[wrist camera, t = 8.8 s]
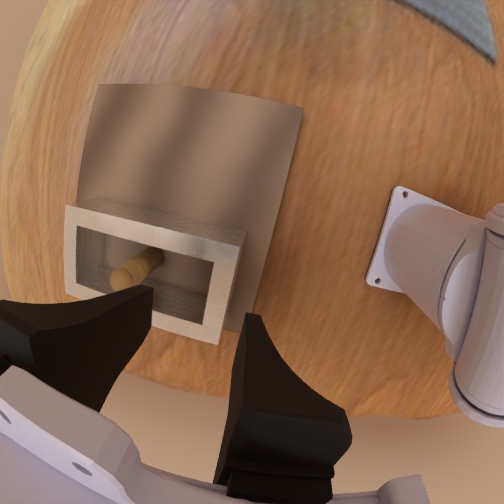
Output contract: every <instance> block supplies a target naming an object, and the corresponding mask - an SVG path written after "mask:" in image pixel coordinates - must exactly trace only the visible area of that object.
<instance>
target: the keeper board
mask: <svg viewBox="0 0 504 504" xmlns="http://www.w3.org/2000/svg"><path fill="white" fill-rule="evenodd" d="M303 110H304V108H301V107H297V106H294V105H290V104H285V103H281V102H277V101H272V100H268V99H263V98H258V97H253V96H248V95H242V94H236V93H230V92H224V91H217V90H209V89H201V88H192V87H182V86H169V85H151V84H99V86H98V89H97V93H96V96H95V100H94V103H93V107H92V111H91V115H90V120H89V124H88V128H87V133H86V138H85V143H84V149H83V154H82V160H81V167H80V174H79V181H78V189H77V199H76V202H79V201H83V200H88V199H93V198H102V199H107V200H111V201H116V202H120V203H125V204H129V205H134V206H138V207H143V208H147V209H152V210H156V211H161V212H165V213H169V214H174V215H178V216H182V217H187V218H191V219H195V220H199V221H204V222H208V223H212V224H216V225H220V226H225V227H229V228H233V229H237V230H241V231H245V232H247V233H246V237H245V241H244V245H243V250H242V254H241V258H240V263H239V267H238V271H237V275H236V280H235V284H234V288H233V293H232V297H231V301H230V306H229V310H228V315H227V318H226V321H225V324H224V327H223V329H225V330H229V331H233V332H237V333H241V329H242V325H243V321H244V317H245V313H246V312H248V313H252V310H253V306H254V302H255V299H256V295H257V291H258V288H259V284H260V280H261V276H262V273H263V269H264V265H265V261H266V257H267V254H268V250H269V246H270V242H271V238H272V234H273V231H274V227H275V223H276V219H277V215H278V211H279V207H280V203H281V199H282V195H283V192H284V188H285V184H286V180H287V176H288V172H289V168H290V164H291V159H292V155H293V151H294V147H295V143H296V139H297V135H298V131H299V127H300V123H301V118H302V114H303ZM104 265H105V266H108V267H111V268H114V269H115V270H114V271H113V272H112V273H111V276H110V284H111V287H112V288H113V290H114V291H120V290H123V289H126V288H129V287H132V286H136V285H138V284H139V283H141V282H142V281H143V280H144V279H145V278H146V279H149V280H153V281H156V282H159V283H163V284H166V285H170V286H173V287H177V288H180V289H184V290H187V291H191V292H195V293H198V294H202V295H206V296H208V292H209V286H210V281H211V276H212V271H213V266H214V262H211V261H207V260H203V259H200V258H196V257H192V256H188V255H184V254H180V253H176V252H173V251H169V250H165V249H161V248H157V247H154V246H150V245H146V244H142V243H139V242H135V241H131V240H128V239H124V238H120V237H117V236H113V235H109V234H106V239H105V256H104Z"/></svg>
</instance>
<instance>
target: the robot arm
mask: <svg viewBox="0 0 504 504" xmlns="http://www.w3.org/2000/svg"><path fill="white" fill-rule="evenodd" d="M404 191H405V192H406V196H405V197H403V192H404ZM377 278H379V281H378V282H375V280H376V279H377ZM365 280H366V282H367V283H368V285H371V286H375V287H379V288H383V289H387V290H391V291H396V292H400V293H404V294H406V295H407V296H408V297H409V298H410V299H411V300H412V301H413V302H414V303H415V304H416V305H417V306H418V307H419V308H420V309H421V310H422V311H423V312H424V314H425V315H426V316H427V317H428V318H429V319H430V320H431V321H432V322H433V323H434V324H435V325H436V327H437V328H438V329H439V330H440V331H441V332H442V333H443V334H444V335H445V338H446V347H445V351H446V353H447V354H448V355H449V356H450V358H451V359H452V360H453V361H454V365H453V367H452V369H451V372H450V375H449V390H450V394H451V396H452V399H453V401H454V402H455V404H456V405H457V407H458V408H459V409H460V410H461V411H462V412H463V413H464V414H465V415H467V416H468V417H469V418H471V419H472V420H474V421H475V422H478V423H480V424H482V425H486V426H490V427H503V428H504V203H497V204H496V205H495V206H494V207H493V208H492V209H491V210H489V211H487V212H486V215H485V220H483V219H480V218H477V217H474V216H470V215H467V214H464V213H461V212H459V211H457V210H455V209H453V208H451V207H448V206H446V205H444V204H442V203H440V202H438V201H435V200H433V199H431V198H428V197H426V196H424V195H421V194H419V193H417V192H414V191H412V190H409V189H407V188H404V187H402V186H395V187H394V189H393V191H392V195H391V199H390V202H389V206H388V210H387V213H386V217H385V220H384V224H383V227H382V230H381V233H380V237H379V240H378V243H377V246H376V249H375V252H374V255H373V258H372V261H371V264H370V266H369V269H368V272H367V275H366V278H365ZM153 295H154V288H153V287H149V286H146V285H143V284H141V285H136V286H132V287H129V288H126V289H123V290H120V291H116V292H113V293H110V294H107V295H103V296H99V297H95V298H91V299H87V300H82V301H76V302H69V303H57V304H31V303H21V302H14V301H7V300H0V504H430V502H429V499H428V496H427V493H426V490H425V487H424V484H423V481H422V478H421V475H413V476H407V477H402V478H396V479H393V480H390V481H388V482H386V483H385V484H384V485H382V486H381V487H380V488H379V490H377V491H369V492H360V493H347V494H333V493H332V485H331V478H333V477H334V474H335V473H334V465H335V464H336V463H337V461H338V460H339V459H340V458H341V457H342V456H343V455H344V453H345V452H346V451H347V450H348V448H349V447H350V445H351V443H352V433H351V429H350V425H349V422H348V418H347V416H346V413H345V410H344V409H342V408H341V407H339V406H337V405H336V404H334V403H332V402H330V401H329V400H327V399H325V398H324V397H322V396H321V395H320V394H318V393H317V392H316V391H314V390H313V389H312V388H310V387H309V386H308V385H307V384H306V383H305V382H303V381H302V380H301V379H300V378H299V377H298V376H297V375H296V374H295V373H294V372H293V371H292V370H291V368H290V367H289V366H288V365H287V364H286V362H285V361H284V360H283V359H282V357H281V356H280V354H279V353H278V351H277V349H276V348H275V346H274V344H273V342H272V340H271V339H270V337H269V335H268V332H267V330H266V328H265V326H264V323H263V320H262V318H261V316H260V315H257V314H252V313H248V312H246V313H245V317H244V321H243V325H242V329H241V333H240V337H239V341H238V345H237V349H236V354H235V358H234V363H233V367H232V376H231V387H230V398H229V409H228V416H227V421H226V425H225V430H224V435H223V439H222V444H221V449H220V454H219V458H218V462H217V467H216V471H215V476H214V480H213V484H212V483H207V482H202V481H198V480H195V479H191V478H187V477H183V476H180V475H176V474H173V473H169V472H166V471H163V470H160V469H157V468H154V467H151V466H148V465H146V464H144V463H142V462H141V460H140V454H139V451H138V449H137V447H136V446H135V444H134V442H133V441H132V439H131V437H130V436H129V435H128V434H127V433H126V432H125V431H124V430H123V429H121V428H120V427H119V426H118V425H117V424H116V423H115V422H113V421H111V420H110V419H108V418H106V417H105V416H103V415H101V414H100V413H99V412H100V410H101V408H102V406H103V404H104V402H105V400H106V397H107V396H108V394H109V392H110V390H111V388H112V386H113V384H114V382H115V381H116V379H117V377H118V376H119V374H120V373H121V372H122V370H123V369H124V368H125V366H126V365H127V364H128V362H129V361H130V360H131V358H132V357H133V356H134V354H135V353H136V351H137V350H138V349H139V347H140V346H141V345H142V343H143V342H144V340H145V338H146V336H147V334H148V332H149V330H150V328H151V325H152V308H153Z"/></svg>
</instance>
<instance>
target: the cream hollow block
mask: <svg viewBox="0 0 504 504" xmlns="http://www.w3.org/2000/svg"><path fill="white" fill-rule="evenodd" d="M246 233H247V232H245V231H241V230H237V229H233V228H229V227H225V226H220V225H216V224H212V223H208V222H204V221H199V220H195V219H191V218H187V217H182V216H178V215H174V214H169V213H165V212H161V211H156V210H152V209H147V208H143V207H138V206H134V205H129V204H125V203H120V202H116V201H111V200H107V199H102V198H93V199H88V200H83V201H79V202H74V203H70V204H66V206H65V223H64V280H65V293H67V294H69V295H72V296H74V297H76V298H79V299H81V300H87V299H91V298H95V297H99V296H103V295H107V294H110V293H113V292H116V291H114V290H113V288H112V287H111V284H110V276H111V273H112V272H113V271H114V270H115V269H114V268H111V267H108V266H105V265H104V256H105V239H106V234H109V235H113V236H117V237H120V238H124V239H128V240H131V241H135V242H139V243H142V244H146V245H150V246H154V247H157V248H161V249H165V250H169V251H173V252H176V253H180V254H184V255H188V256H192V257H196V258H200V259H203V260H207V261H211V262H214V266H213V271H212V276H211V281H210V286H209V292H208V296H206V295H202V294H198V293H195V292H191V291H187V290H184V289H180V288H177V287H173V286H170V285H166V284H163V283H159V282H156V281H153V280H149V279H146V278H145V279H144V280H143V281H142V282H141V283H139V284H138V285H141V284H143V285H146V286H149V287H153V288H154V295H153V308H152V325H151V326H154V327H157V328H160V329H163V330H167V331H170V332H173V333H176V334H180V335H183V336H186V337H190V338H193V339H197V340H201V341H204V342H208V343H212V344H215V345H218V343H219V340H220V337H221V334H222V331H223V327H224V324H225V321H226V318H227V315H228V310H229V306H230V301H231V297H232V293H233V288H234V284H235V280H236V275H237V271H238V267H239V263H240V258H241V254H242V250H243V245H244V241H245V237H246Z"/></svg>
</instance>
